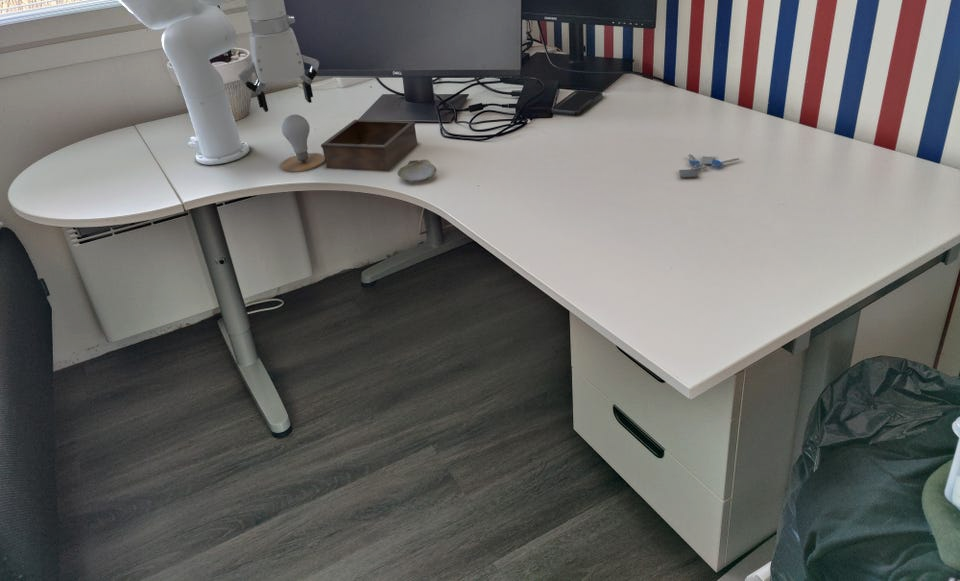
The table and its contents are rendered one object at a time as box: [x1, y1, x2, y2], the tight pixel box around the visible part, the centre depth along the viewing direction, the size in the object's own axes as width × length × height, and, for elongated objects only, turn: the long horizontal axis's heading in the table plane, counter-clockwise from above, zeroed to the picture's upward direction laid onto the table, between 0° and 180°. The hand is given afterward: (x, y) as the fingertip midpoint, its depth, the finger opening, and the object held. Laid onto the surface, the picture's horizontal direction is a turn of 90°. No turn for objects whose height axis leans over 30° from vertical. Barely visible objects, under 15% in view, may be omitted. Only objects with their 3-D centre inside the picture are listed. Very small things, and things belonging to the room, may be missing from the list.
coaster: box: [280, 152, 326, 173], centre depth 170 cm, size 10×10×1 cm
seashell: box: [397, 159, 437, 183], centre depth 156 cm, size 8×3×8 cm
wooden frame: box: [320, 119, 418, 172], centre depth 168 cm, size 16×16×6 cm
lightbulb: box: [281, 114, 311, 162], centre depth 167 cm, size 6×6×11 cm
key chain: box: [678, 153, 740, 178], centre depth 147 cm, size 14×8×1 cm, turn 121°
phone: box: [551, 89, 603, 117], centre depth 185 cm, size 8×1×15 cm
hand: (287, 105), depth 163 cm, fingers open, 9 cm apart
